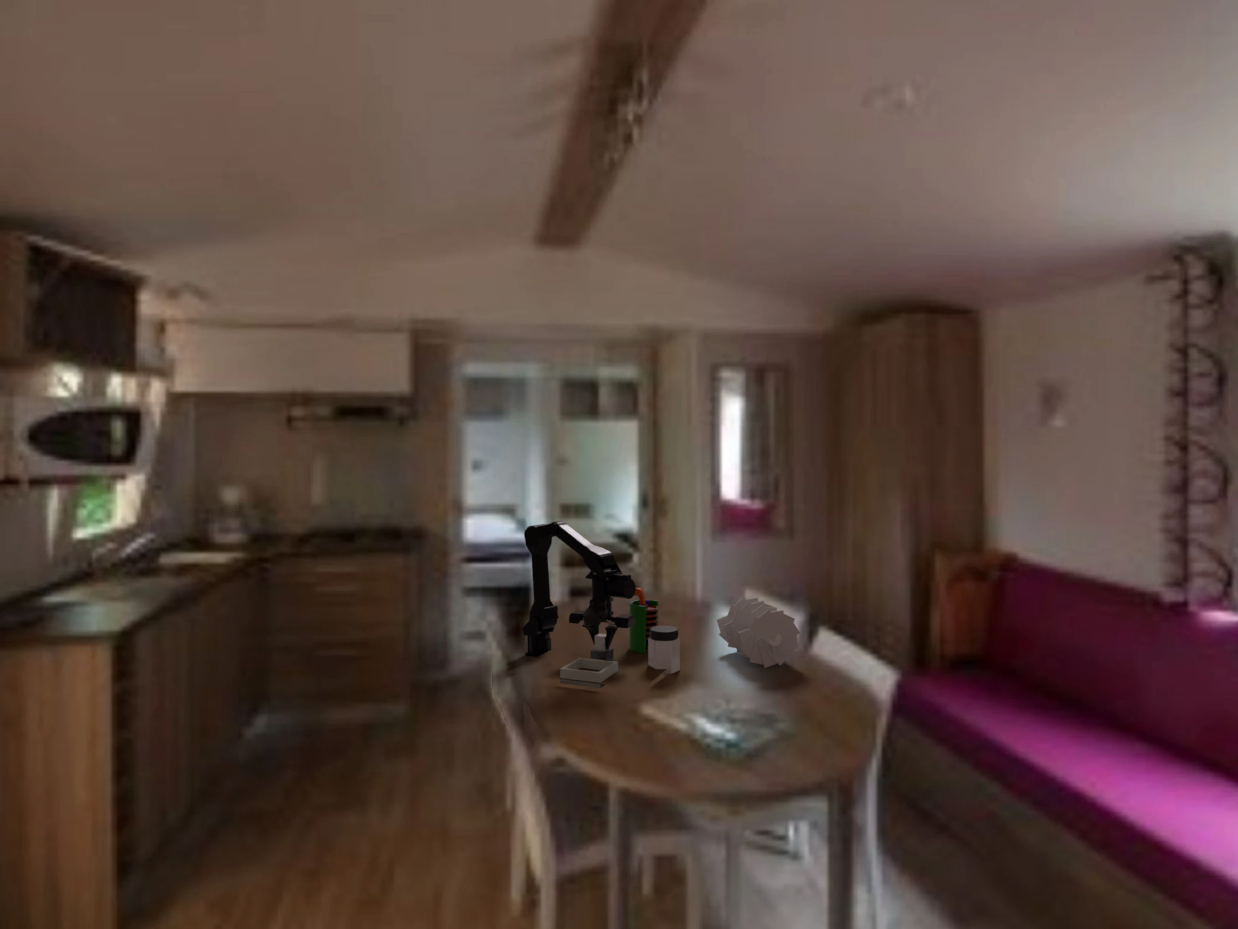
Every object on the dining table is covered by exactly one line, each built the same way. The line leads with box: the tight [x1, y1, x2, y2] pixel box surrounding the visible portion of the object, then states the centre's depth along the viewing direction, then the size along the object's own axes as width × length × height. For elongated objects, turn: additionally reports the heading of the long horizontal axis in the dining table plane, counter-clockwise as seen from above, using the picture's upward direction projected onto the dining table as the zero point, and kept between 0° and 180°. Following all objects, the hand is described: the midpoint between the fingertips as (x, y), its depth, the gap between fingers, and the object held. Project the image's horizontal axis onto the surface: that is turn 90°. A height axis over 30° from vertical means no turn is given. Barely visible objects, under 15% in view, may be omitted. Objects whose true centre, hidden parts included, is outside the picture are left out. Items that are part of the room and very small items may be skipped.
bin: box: [559, 657, 619, 689], centre depth 238 cm, size 12×12×4 cm
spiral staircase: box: [716, 597, 801, 669], centre depth 257 cm, size 18×18×25 cm
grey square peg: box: [590, 633, 614, 661], centre depth 251 cm, size 5×5×8 cm
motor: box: [628, 587, 659, 654], centre depth 265 cm, size 10×9×20 cm
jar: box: [647, 625, 681, 675], centre depth 247 cm, size 9×8×12 cm
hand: (602, 648), depth 251 cm, fingers closed on grey square peg, 3 cm apart
